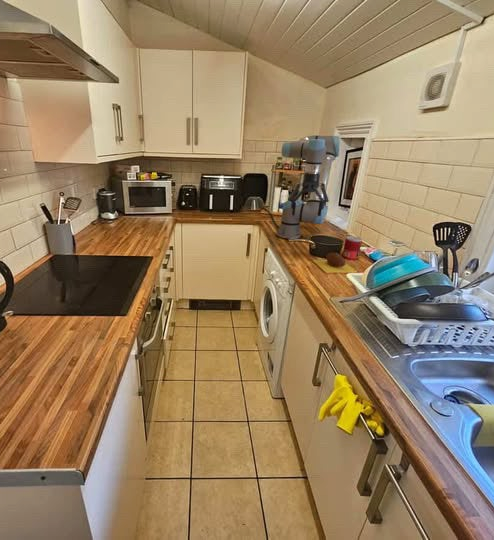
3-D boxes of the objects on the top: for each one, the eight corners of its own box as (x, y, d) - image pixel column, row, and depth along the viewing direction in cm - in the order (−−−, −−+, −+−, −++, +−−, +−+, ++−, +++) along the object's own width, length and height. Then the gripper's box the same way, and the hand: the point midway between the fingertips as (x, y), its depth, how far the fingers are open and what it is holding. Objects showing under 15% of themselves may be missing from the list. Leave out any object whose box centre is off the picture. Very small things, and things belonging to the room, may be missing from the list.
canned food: (359, 260, 159) (363, 240, 155) (343, 259, 161) (347, 239, 156) (356, 255, 166) (360, 236, 162) (340, 254, 168) (344, 235, 163)
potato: (339, 270, 145) (341, 258, 142) (320, 262, 154) (323, 250, 151) (347, 268, 148) (350, 256, 145) (329, 260, 157) (331, 249, 154)
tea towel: (312, 260, 158) (312, 259, 157) (341, 260, 159) (341, 259, 159) (325, 272, 143) (325, 272, 143) (357, 272, 144) (357, 271, 144)
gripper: (288, 173, 145) (283, 216, 154) (340, 174, 145) (332, 217, 154) (285, 171, 152) (281, 212, 161) (334, 172, 152) (327, 213, 161)
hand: (306, 215), depth 157 cm, fingers open, 13 cm apart
